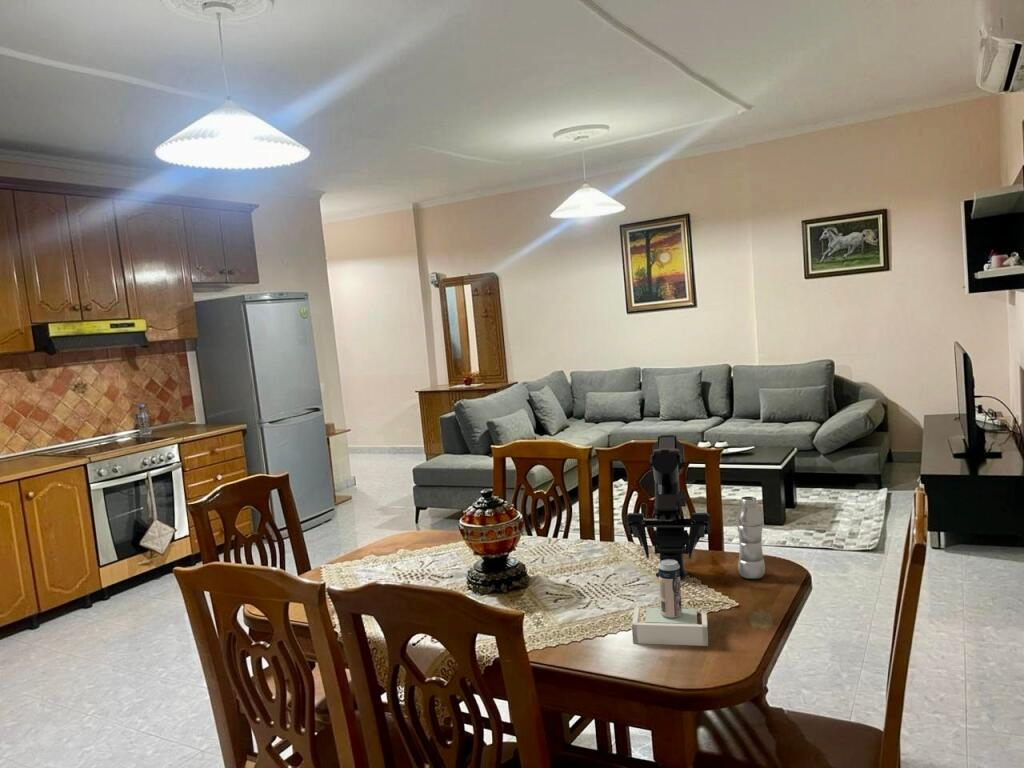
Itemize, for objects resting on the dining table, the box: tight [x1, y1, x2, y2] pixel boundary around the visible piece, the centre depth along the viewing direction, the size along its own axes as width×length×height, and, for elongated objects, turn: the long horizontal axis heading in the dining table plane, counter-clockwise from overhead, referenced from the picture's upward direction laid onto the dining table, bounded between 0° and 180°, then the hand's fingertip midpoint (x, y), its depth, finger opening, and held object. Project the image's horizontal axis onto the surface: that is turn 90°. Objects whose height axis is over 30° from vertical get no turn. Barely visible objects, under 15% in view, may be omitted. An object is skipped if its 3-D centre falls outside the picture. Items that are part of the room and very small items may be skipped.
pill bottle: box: [657, 559, 683, 618], centre depth 161 cm, size 5×5×12 cm
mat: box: [644, 607, 698, 624], centre depth 162 cm, size 8×11×1 cm
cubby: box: [631, 606, 709, 647], centre depth 153 cm, size 9×15×4 cm, turn 77°
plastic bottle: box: [735, 495, 766, 580], centre depth 181 cm, size 6×7×20 cm
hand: (668, 557), depth 163 cm, fingers open, 9 cm apart
